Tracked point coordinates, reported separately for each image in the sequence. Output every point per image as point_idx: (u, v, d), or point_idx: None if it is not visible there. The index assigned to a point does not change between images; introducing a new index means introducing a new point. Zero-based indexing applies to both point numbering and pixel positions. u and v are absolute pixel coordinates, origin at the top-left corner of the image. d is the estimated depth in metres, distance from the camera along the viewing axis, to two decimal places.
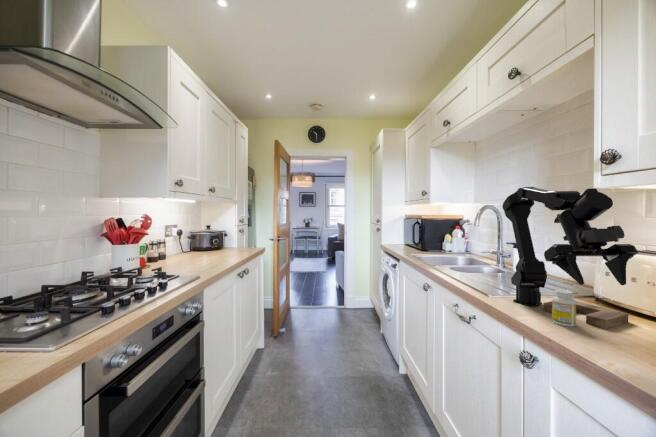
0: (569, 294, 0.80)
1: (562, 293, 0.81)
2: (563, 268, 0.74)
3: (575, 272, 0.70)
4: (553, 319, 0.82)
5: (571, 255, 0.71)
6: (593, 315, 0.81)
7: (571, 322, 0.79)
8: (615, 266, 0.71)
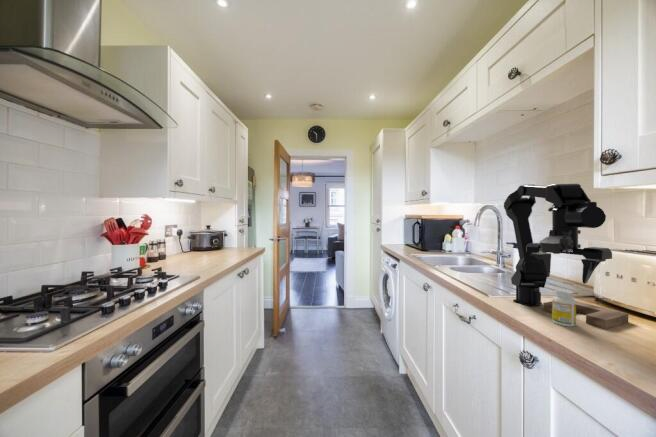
0: (569, 294, 0.80)
1: (562, 293, 0.81)
2: None
3: None
4: (553, 319, 0.82)
5: (535, 255, 0.86)
6: (593, 315, 0.81)
7: (571, 322, 0.79)
8: None
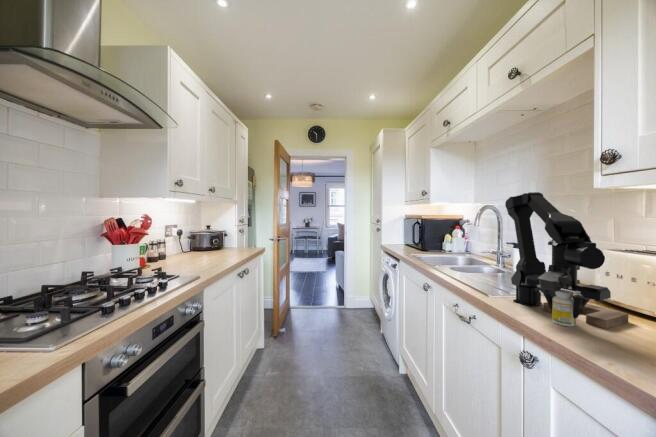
0: (569, 294, 0.80)
1: (562, 293, 0.81)
2: None
3: None
4: (553, 319, 0.82)
5: (541, 289, 0.85)
6: (593, 315, 0.81)
7: (571, 322, 0.79)
8: None
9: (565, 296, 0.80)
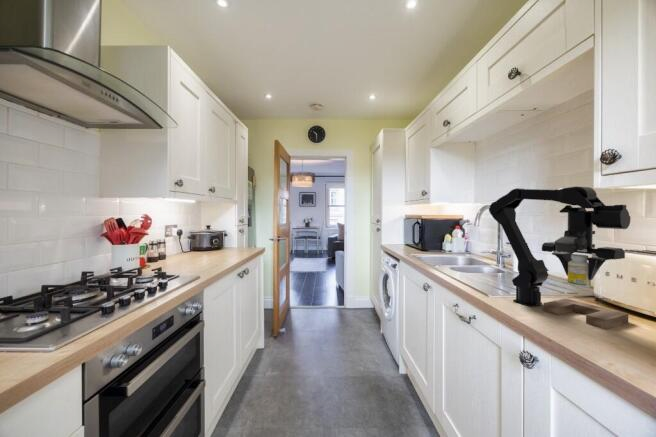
0: (584, 257, 0.84)
1: (577, 256, 0.85)
2: None
3: None
4: (568, 282, 0.87)
5: (557, 254, 0.89)
6: (593, 315, 0.81)
7: (586, 283, 0.83)
8: None
9: (580, 259, 0.84)
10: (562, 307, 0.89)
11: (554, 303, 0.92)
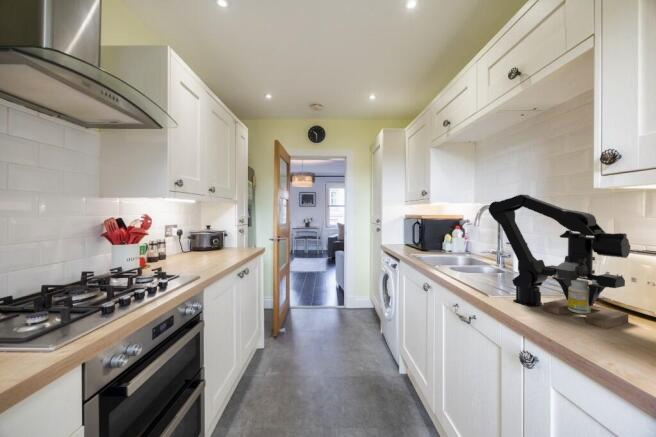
0: (585, 283, 0.84)
1: (578, 282, 0.85)
2: None
3: None
4: (569, 307, 0.87)
5: (557, 279, 0.90)
6: (593, 315, 0.81)
7: (586, 309, 0.84)
8: None
9: (581, 285, 0.85)
10: (562, 307, 0.89)
11: (554, 303, 0.92)
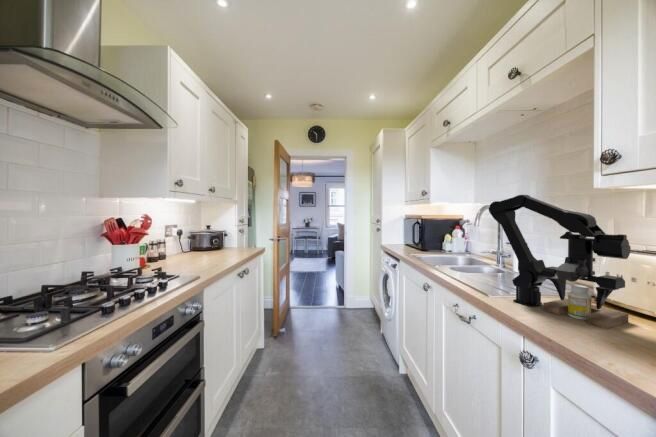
0: (585, 289, 0.84)
1: (578, 288, 0.85)
2: None
3: None
4: (569, 313, 0.87)
5: (551, 279, 0.91)
6: (593, 315, 0.81)
7: None
8: None
9: (581, 291, 0.85)
10: (562, 307, 0.89)
11: (554, 303, 0.92)
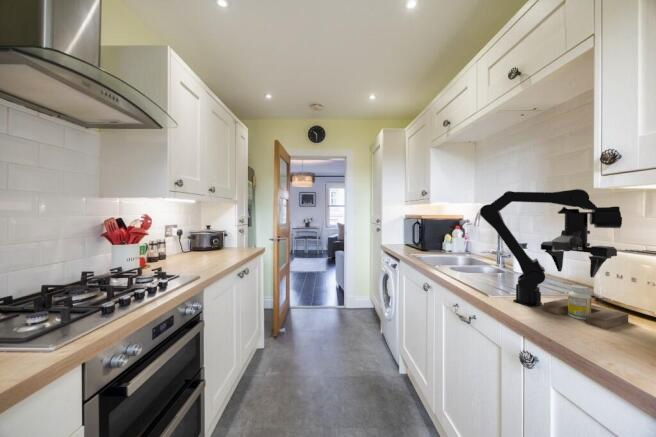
0: (585, 289, 0.84)
1: (578, 288, 0.85)
2: None
3: None
4: (569, 313, 0.87)
5: (549, 252, 0.97)
6: (593, 315, 0.81)
7: None
8: None
9: (581, 291, 0.85)
10: (562, 307, 0.89)
11: (554, 303, 0.92)
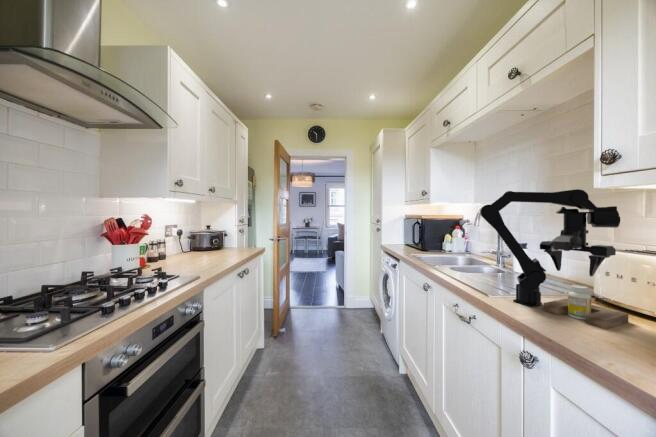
0: (585, 289, 0.84)
1: (578, 288, 0.85)
2: None
3: None
4: (569, 313, 0.87)
5: (548, 252, 0.98)
6: (593, 315, 0.81)
7: None
8: None
9: (581, 291, 0.85)
10: (562, 307, 0.89)
11: (554, 303, 0.92)
